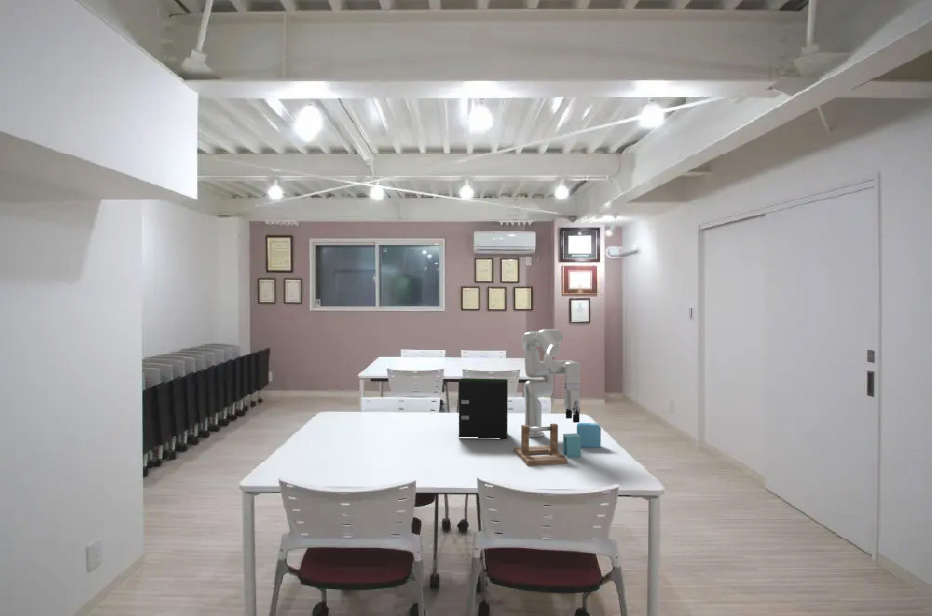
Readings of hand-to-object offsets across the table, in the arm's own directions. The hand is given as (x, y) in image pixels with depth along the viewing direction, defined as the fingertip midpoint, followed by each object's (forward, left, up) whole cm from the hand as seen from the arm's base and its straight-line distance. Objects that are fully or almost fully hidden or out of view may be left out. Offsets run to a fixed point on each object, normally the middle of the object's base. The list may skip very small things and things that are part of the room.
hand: (572, 420), depth 269 cm
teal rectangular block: (0, 0, -18) cm, 18 cm away
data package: (-14, +15, -18) cm, 28 cm away
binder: (-44, -36, -18) cm, 60 cm away
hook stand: (0, -17, -18) cm, 25 cm away
